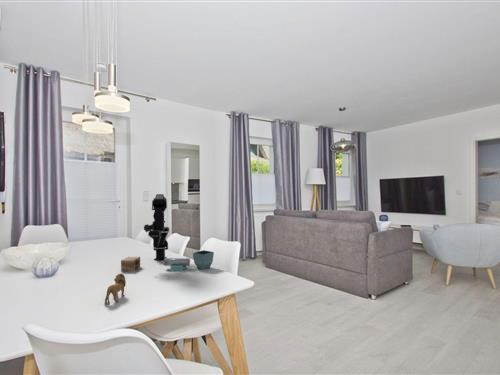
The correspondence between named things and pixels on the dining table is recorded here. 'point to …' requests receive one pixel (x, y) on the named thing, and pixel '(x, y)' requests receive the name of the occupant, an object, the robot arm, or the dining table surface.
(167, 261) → the axle
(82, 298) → the dining table surface
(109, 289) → the lion figurine
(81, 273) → the dining table surface
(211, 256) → the flower pot
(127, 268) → the brown block
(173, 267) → the cradle
